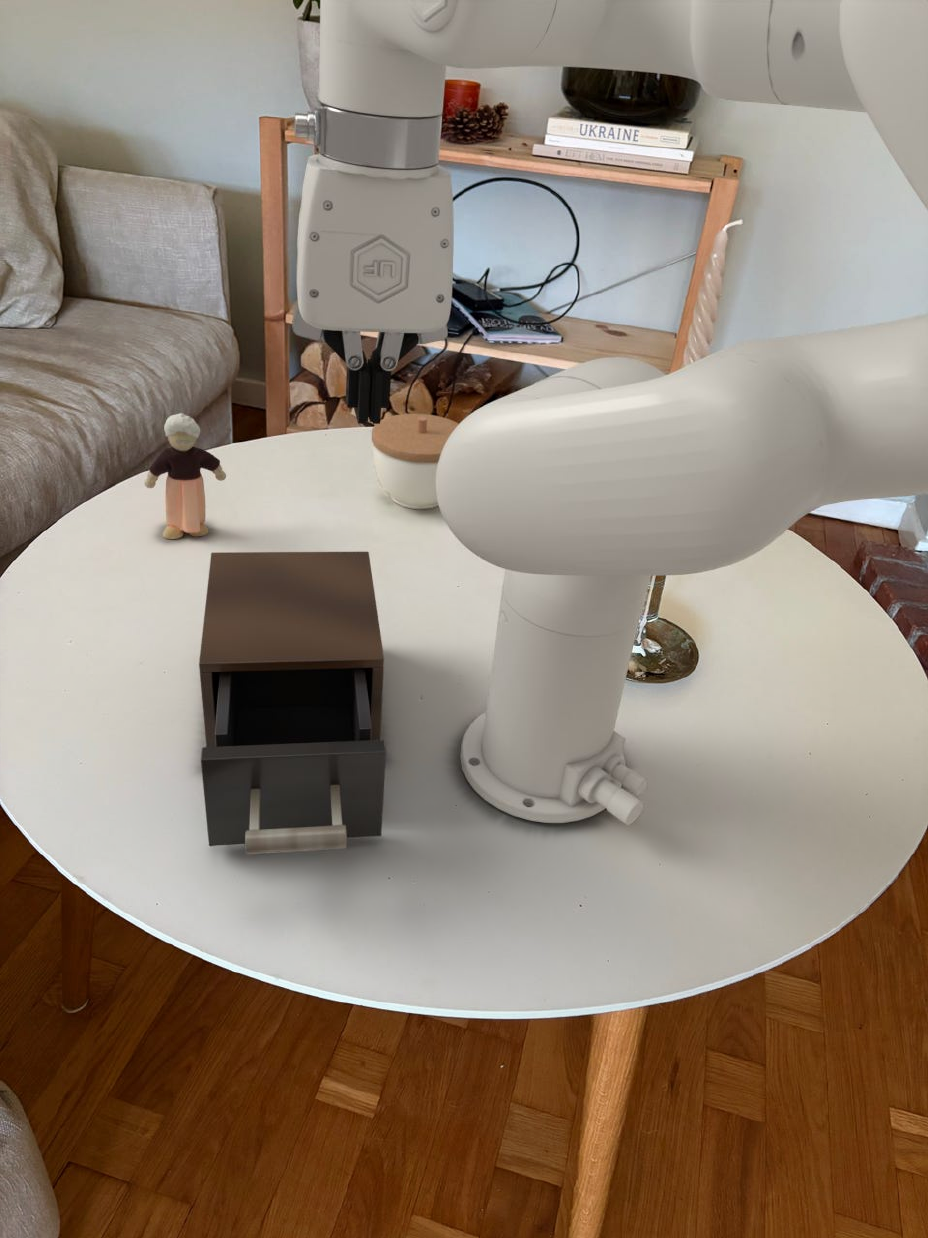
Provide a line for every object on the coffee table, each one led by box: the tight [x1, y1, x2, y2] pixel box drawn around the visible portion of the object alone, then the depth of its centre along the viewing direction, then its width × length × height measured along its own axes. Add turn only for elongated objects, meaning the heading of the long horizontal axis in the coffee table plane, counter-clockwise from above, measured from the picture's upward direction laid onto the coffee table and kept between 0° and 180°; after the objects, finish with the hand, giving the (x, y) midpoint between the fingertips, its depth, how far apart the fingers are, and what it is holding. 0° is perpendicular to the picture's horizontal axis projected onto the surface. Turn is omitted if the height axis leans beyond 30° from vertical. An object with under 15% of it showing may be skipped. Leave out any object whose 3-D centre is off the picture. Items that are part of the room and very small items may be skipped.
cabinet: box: [198, 551, 385, 747], centre depth 75 cm, size 15×13×10 cm
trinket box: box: [371, 413, 460, 510], centre depth 105 cm, size 11×11×9 cm
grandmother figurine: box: [144, 412, 227, 540], centre depth 94 cm, size 8×4×13 cm, turn 122°
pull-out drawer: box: [200, 668, 387, 855], centre depth 65 cm, size 18×11×8 cm, turn 9°
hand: (366, 415), depth 70 cm, fingers closed
